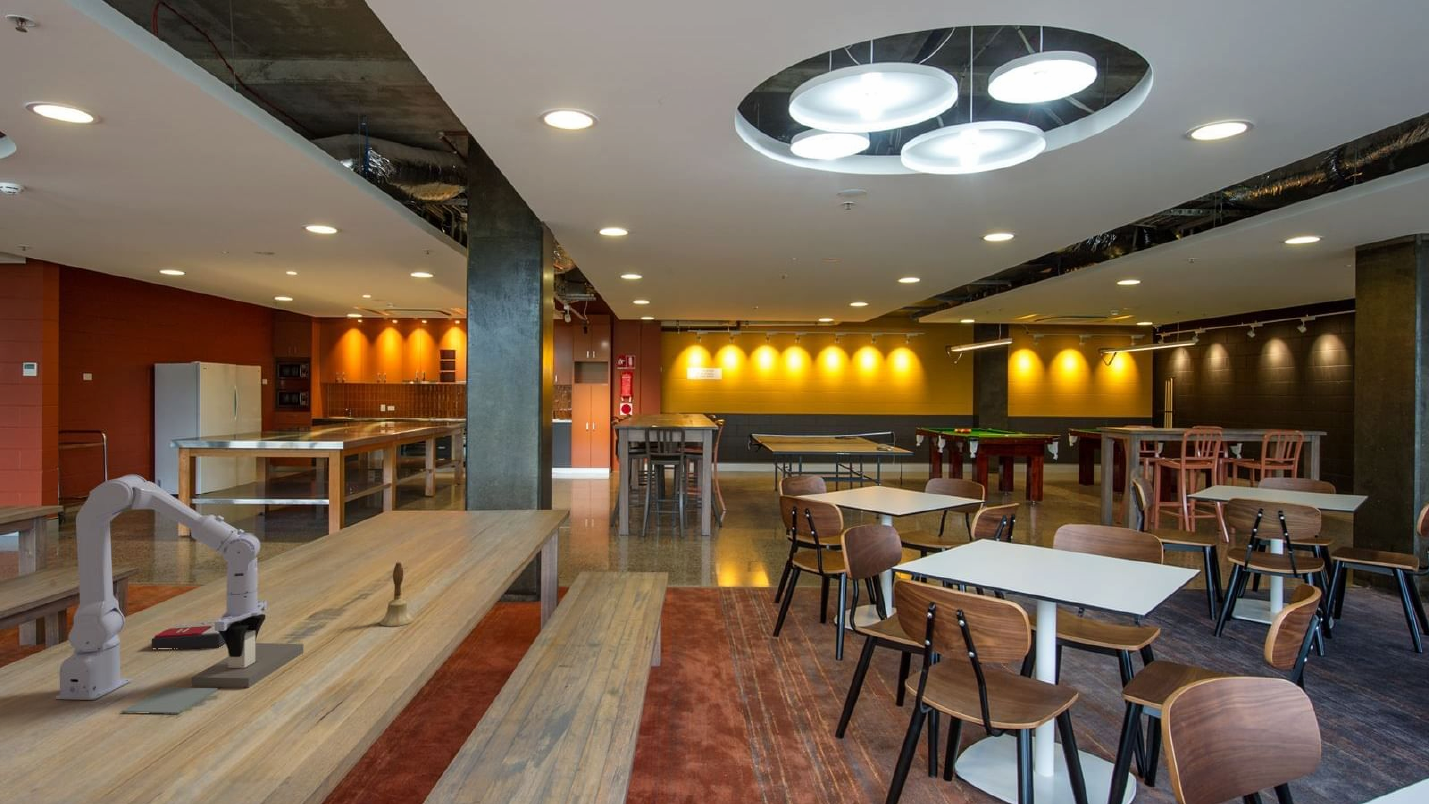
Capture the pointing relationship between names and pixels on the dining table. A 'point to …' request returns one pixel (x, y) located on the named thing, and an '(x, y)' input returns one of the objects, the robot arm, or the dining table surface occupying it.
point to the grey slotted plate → (248, 667)
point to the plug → (244, 652)
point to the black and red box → (189, 636)
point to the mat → (170, 700)
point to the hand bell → (397, 603)
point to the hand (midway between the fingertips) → (241, 652)
